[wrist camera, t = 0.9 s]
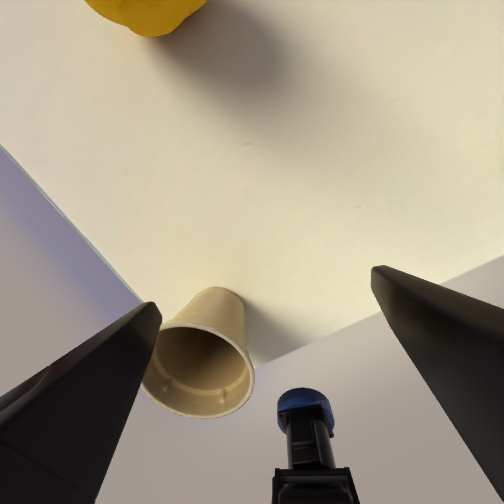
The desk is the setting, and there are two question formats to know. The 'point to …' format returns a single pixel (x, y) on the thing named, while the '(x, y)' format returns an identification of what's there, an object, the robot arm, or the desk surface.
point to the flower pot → (202, 358)
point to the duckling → (146, 14)
